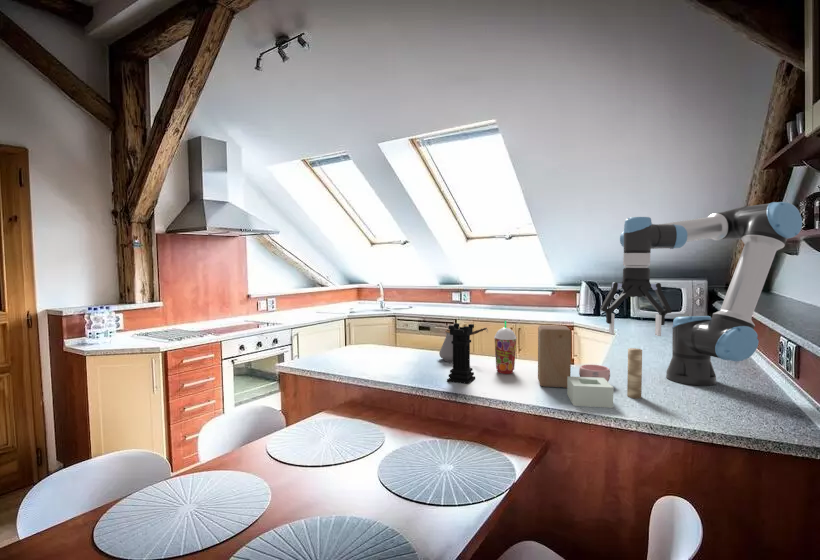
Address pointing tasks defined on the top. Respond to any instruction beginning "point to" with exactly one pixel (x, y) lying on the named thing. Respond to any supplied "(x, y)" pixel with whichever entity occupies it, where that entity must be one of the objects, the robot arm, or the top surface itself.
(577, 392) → the socket block
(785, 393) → the top surface
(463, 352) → the chess piece
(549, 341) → the wooden block
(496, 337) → the smoothie
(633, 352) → the birch peg
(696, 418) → the top surface
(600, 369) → the mug
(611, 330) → the robot arm
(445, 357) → the coffee pot
